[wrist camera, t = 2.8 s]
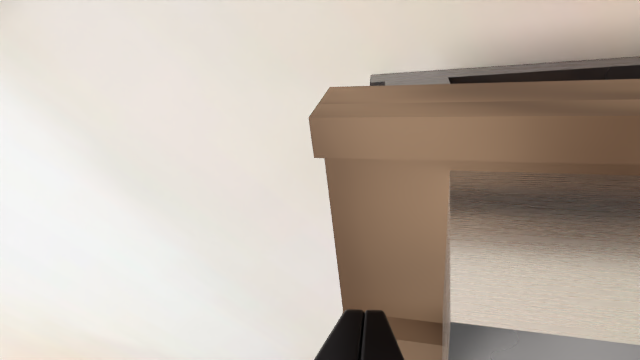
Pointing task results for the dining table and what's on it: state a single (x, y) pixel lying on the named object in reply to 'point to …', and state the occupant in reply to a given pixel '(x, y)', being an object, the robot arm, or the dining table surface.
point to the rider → (542, 267)
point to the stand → (520, 73)
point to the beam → (448, 174)
